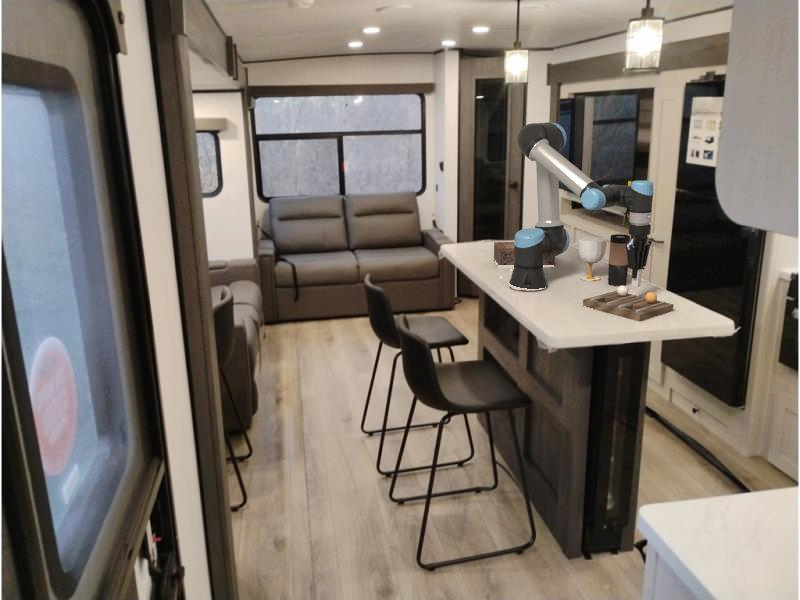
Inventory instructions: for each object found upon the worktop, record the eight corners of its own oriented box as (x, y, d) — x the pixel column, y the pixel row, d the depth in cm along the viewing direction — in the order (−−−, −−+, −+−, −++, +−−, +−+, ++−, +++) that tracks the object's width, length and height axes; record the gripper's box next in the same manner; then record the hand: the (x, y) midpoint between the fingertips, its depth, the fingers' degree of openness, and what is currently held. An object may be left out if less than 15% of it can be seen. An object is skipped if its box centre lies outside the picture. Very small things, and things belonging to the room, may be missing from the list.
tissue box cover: (498, 269, 297) (499, 248, 295) (493, 262, 311) (494, 242, 309) (554, 268, 298) (555, 246, 295) (547, 261, 312) (548, 240, 309)
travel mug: (628, 282, 268) (632, 235, 262) (624, 287, 261) (628, 238, 256) (609, 281, 271) (612, 233, 266) (605, 285, 265) (608, 236, 260)
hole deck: (582, 306, 238) (583, 298, 237) (615, 297, 248) (616, 289, 247) (639, 321, 219) (640, 312, 218) (672, 311, 229) (673, 302, 228)
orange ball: (642, 302, 231) (643, 291, 230) (649, 300, 233) (650, 290, 232) (652, 305, 228) (653, 294, 227) (659, 303, 230) (660, 292, 229)
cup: (574, 281, 273) (576, 241, 268) (576, 274, 283) (578, 236, 279) (603, 282, 269) (606, 242, 264) (604, 276, 280) (607, 237, 275)
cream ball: (614, 295, 240) (614, 285, 239) (621, 294, 243) (621, 283, 242) (623, 298, 237) (624, 287, 236) (630, 296, 240) (631, 285, 238)
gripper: (637, 226, 230) (633, 291, 237) (659, 222, 238) (655, 285, 244) (620, 224, 236) (616, 287, 243) (642, 220, 244) (637, 281, 250)
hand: (635, 286), depth 243 cm, fingers closed
